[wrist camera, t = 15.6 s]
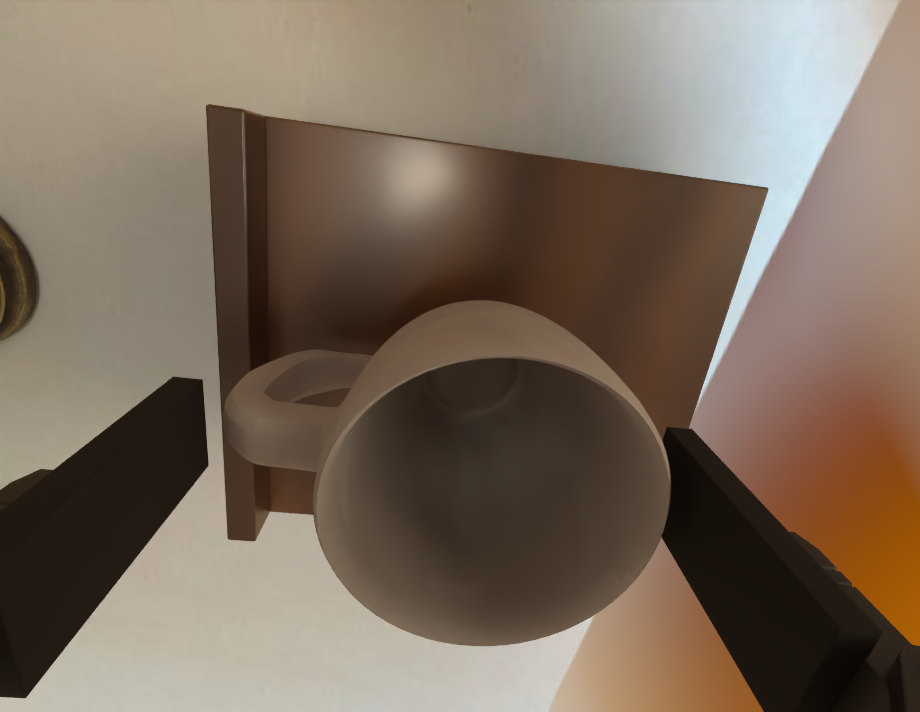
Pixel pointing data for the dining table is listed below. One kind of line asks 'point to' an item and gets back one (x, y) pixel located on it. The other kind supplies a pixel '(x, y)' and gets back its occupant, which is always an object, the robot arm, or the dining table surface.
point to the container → (14, 283)
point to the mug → (468, 471)
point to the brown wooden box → (455, 261)
